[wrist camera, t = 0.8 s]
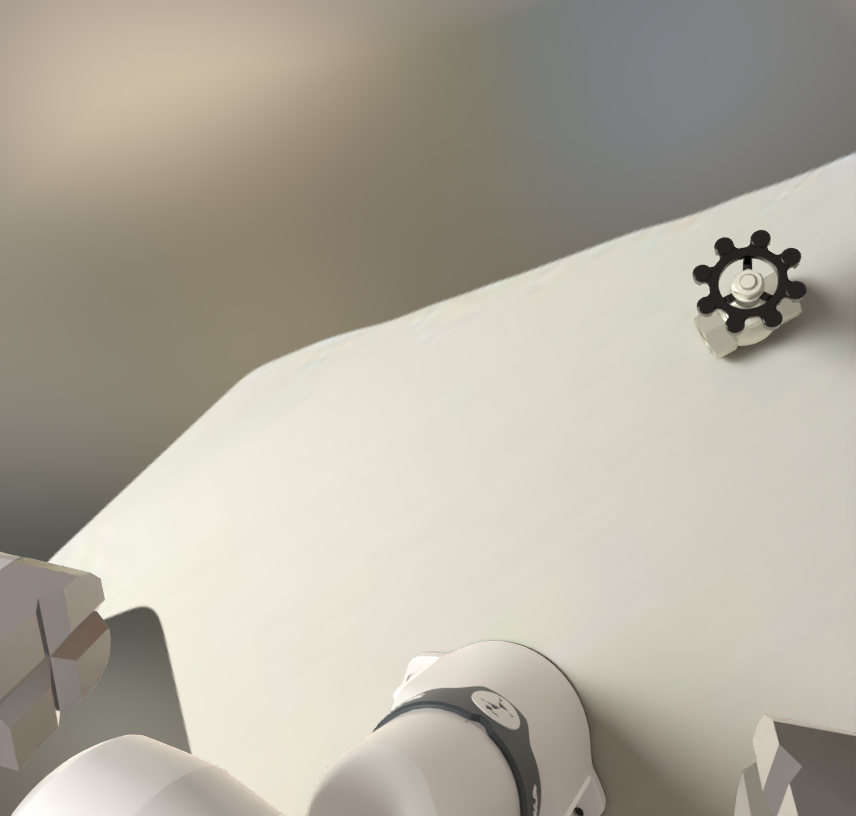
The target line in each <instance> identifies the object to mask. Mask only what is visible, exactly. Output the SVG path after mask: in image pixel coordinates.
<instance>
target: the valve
mask: <svg viewBox="0 0 856 816" xmlns="http://www.w3.org/2000/svg"><path fill="white" fill-rule="evenodd" d="M770 239H771V237H770V234H769V233H768V232H767V231H764V230H759V231H756V232H754V233H753V234H752V236H751V240H750V245H749V246H748V247H745V248H739V249H738V248H736V247H734V243H733V241H732V240H731V239H730V238H726V237H723V238H720V239H719V240H717V241H716V243H715V246H714V248H715V254H716V255H718V256H719V257H720V260H719V261H718V263H717V264H716V265H715V266H714V267H708V266H706V265H699V266H697V267H696V268H695V269H694V270H693V279H694V282H695V283H696V284H698V285H701V284H707V285H708V286H709V288H710V294H709V295H708V296H707V297H703V298H701V299H700V300H699V301H698V303H697V310H698V313H699V314H700V315H698V316H697V317H695V318H694V319H693V323H694V325H695V327H696V329H697V331H698V332H699V334H700V336H701V338H702V339H703V341H704V342H705V344H706V346H707V347H708V349H709V350H710V352H711V353H712V355H713V356H714V357H715V358H716V359H720V358H722V357H724V356H725V355H727V354H729V353H731V352H733V351H734V350H736V349H737V346H747V345H752V344H755V343H758V342H760V341H762V340H763V339H765V338H766V337H768V336H769V335H770V334H771V333H772V332H773V330H776V329H778V328H779V327H780V326H781V325H782V324H784V323H786V322H787V321H789V320H791V319H793V318H795V317H797V316H798V315H799V314H800V313H801V312H802V308H801V305H800V303H799V302H800V301H801V300H802V299H803V298H804V296H805V294H806V286H805V285H804V284H803V283H802V282H799V281H794V282H791V281H790V280H789V279H788V276H787V271H788V269H790V268H794V269H795V268H796V267H797V266H798V265H799V263H800V260H801V253H800V252H799V250H797V249H795V248H788V249H786V250H784V251H783V252H782V253H781V254H779V255H775V254H773V253H772V252H770V251H769V250H768V248H767V247H768V245H770ZM752 258H755V259H760V260H762V261H764V262H766V263H768V264H769V265H770V266H771V267H772V268H773V270H774V271H775V272H774V273H772V274H770V275H768V276H767V277H765V278H763V277H762V275H761V274H759V273H757V272H755V271H753V270H752ZM741 259H743V271H742V272H740V273H739V274H737V275H735V276H734V278H733V280H732V282H731V291H730V292H729V293H728V295H727V296H725V297H722V295H721V294H720V291H719V280H720V277H721V275H722V273H723V272H724V270H725V269H726V268H727V267H728V266H729V265H730V264H732V263H733V262H735V261H737V260H741Z"/></svg>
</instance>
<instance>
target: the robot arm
mask: <svg viewBox="0 0 856 816" xmlns="http://www.w3.org/2000/svg"><path fill="white" fill-rule="evenodd" d="M104 600H105V598H104V594H103V589H102V584H101V579H100V578H98V577H97V576H95V575H93V574H92V573H89V572H85V571H81V570H77V569H73V568H69V567H64V566H60V565H56V564H52V563H48V562H43V561H39V560H35V559H31V558H22V557H19V556H14V555H10V554H6V553H2V552H0V766H1V767H6V768H10V769H14V770H18V771H19V770H20V769H21V768H22V767H23V766H24V765H25V764H26V763H27V762H28V760H29V759H30V758H31V757H32V756H33V755H34V754H35V753H36V752H37V751H38V749H39V748H40V747H41V746H42V745H43V744H44V743H45V742H46V741H47V739H48V738H49V737H50V736H51V735H52V734H53V733H54V732H55V731H56V730H57V729H58V727H59V717H60V711H61V710H63V709H65V708H67V707H70V706H72V705H74V704H76V703H78V702H80V701H82V700H84V699H85V697H86V696H87V695H88V694H89V692H91V690H92V689H93V688H94V687H95V686H96V684H97V683H98V682H99V680H100V677H101V675H102V673H103V671H104V669H105V667H106V665H107V663H108V660H109V653H110V646H111V640H110V632H109V627H108V626H107V624H106V623H105V622H104V620H103V619H102V618H101V616H100V615H99V614H98V612H97V610H98V608H99V607H100V606H101V604H102V603H103V601H104ZM393 697H394V699H395V702H394V704H393V707H392V709H391V711H390V712H389V713H388V714H387V715H386V716H385V718H384V719H383V720H382V721H381V722H380V723H379V724H378V725H377V727H376V728H375V729H374V730H373V732H372V733H371V734H370V735H368V736H367V737H365V738H364V739H362V740H361V741H359V742H358V743H357V744H355V745H354V746H352V747H351V748H349V749H347V750H346V751H345V752H343V753H342V754H340V755H339V756H338V757H337V758H336V759H335V760H334V761H333V762H332V763H331V764H330V765H329V766H328V767H327V769H326V770H325V772H324V773H323V774H322V776H321V777H320V779H319V781H318V783H317V784H316V786H315V788H314V791H313V793H312V795H311V797H310V800H309V803H308V807H307V811H306V816H581V815H578V814H577V813H576V812H575V809H574V808H576V807H579V808H581V809H582V810H583V812H584V815H582V816H600V815H601V814H602V813H603V811H604V809H605V807H606V798H605V794H604V791H603V788H602V785H601V783H600V781H599V779H598V776H597V774H596V772H595V770H594V768H593V764H592V759H591V746H590V734H589V727H588V723H587V719H586V715H585V712H584V709H583V707H582V704H581V702H580V700H579V698H578V696H577V694H576V692H575V691H574V689H573V687H572V686H571V684H570V683H569V682H568V680H567V679H566V678H565V676H564V675H563V674H562V673H561V672H560V671H559V670H558V669H557V668H556V667H555V666H554V665H553V664H552V663H551V662H549V661H548V660H547V659H545V658H544V657H543V656H541V655H540V654H538V653H536V652H534V651H532V650H530V649H528V648H526V647H524V646H521V645H518V644H514V643H510V642H505V641H484V642H478V643H474V644H471V645H468V646H466V647H463V648H461V649H459V650H456V651H454V652H450V653H433V652H429V653H421V654H418V655H417V656H415V657H414V658H413V659H412V660H411V661H410V663H409V665H408V668H407V671H406V674H405V677H404V680H403V683H402V685H401V686H400V687H399V688H398V689H397V690H396V692H395V693H394V695H393ZM752 743H753V748H754V752H755V757H756V763H754V764H753V765H751V766H749V767H748V768H746V769H744V770H743V771H742V774H741V778H740V782H739V785H738V789H737V793H736V802H735V813H734V816H856V733H854V732H849V731H844V730H839V729H834V728H829V727H824V726H819V725H815V724H810V723H805V722H800V721H795V720H790V719H785V718H780V717H775V716H770V715H765V714H764V716H763V717H762V718H761V720H760V721H759V722H758V724H757V727H756V730H755V733H754V736H753V739H752ZM11 816H285V815H283V814H282V813H281V812H279V811H278V810H277V809H275V808H274V807H273V806H272V805H270V804H269V803H268V802H266V801H265V800H264V799H262V798H261V797H260V796H258V795H257V794H256V793H254V792H253V791H252V790H250V789H249V788H248V787H247V786H245V785H244V784H243V783H241V782H240V781H239V780H237V779H236V778H235V777H233V776H232V775H231V774H229V773H228V772H227V771H225V770H224V769H222V768H220V767H218V766H215V765H213V764H211V763H209V762H207V761H204V760H202V759H200V758H198V757H196V756H193V755H191V754H189V753H187V752H184V751H182V750H179V749H177V748H174V747H171V746H169V745H166V744H164V743H161V742H159V741H156V740H154V739H151V738H149V737H146V736H142V735H125V736H121V737H117V738H114V739H111V740H108V741H105V742H102V743H100V744H97V745H95V746H93V747H91V748H89V749H87V750H85V751H82V752H80V753H79V754H77V755H75V756H74V757H72V758H70V759H69V760H67V761H66V762H64V763H63V764H62V765H60V766H59V767H58V768H56V769H55V770H54V771H53V772H51V773H50V774H49V775H47V776H46V777H45V778H44V779H43V780H42V781H41V782H40V783H39V784H38V785H37V786H36V787H35V788H34V789H33V790H32V791H31V792H30V793H29V794H28V795H27V796H26V797H25V798H24V800H23V801H22V802H21V803H20V805H19V806H18V807H17V808H16V810H15V811H14V812H13V814H12V815H11Z"/></svg>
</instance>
